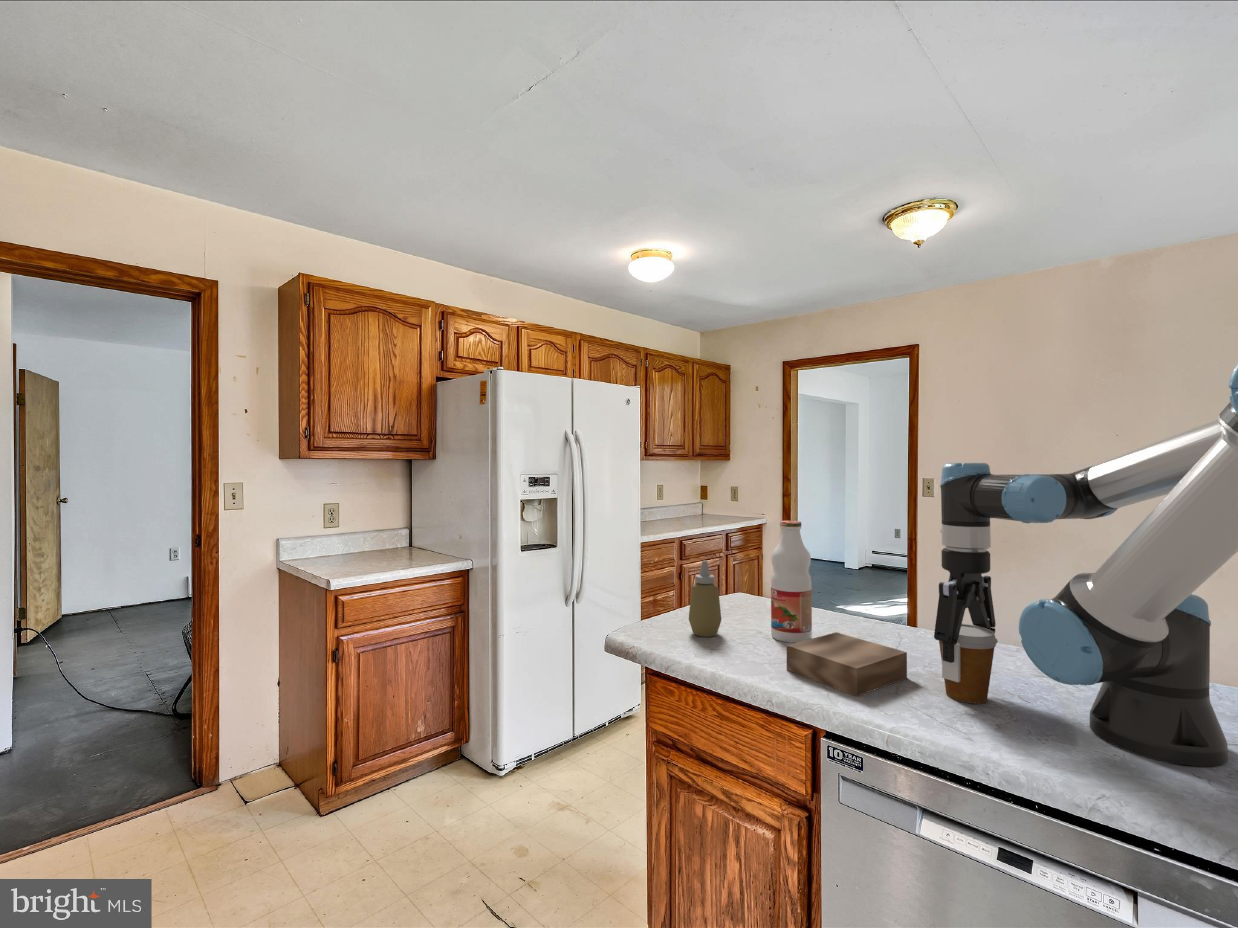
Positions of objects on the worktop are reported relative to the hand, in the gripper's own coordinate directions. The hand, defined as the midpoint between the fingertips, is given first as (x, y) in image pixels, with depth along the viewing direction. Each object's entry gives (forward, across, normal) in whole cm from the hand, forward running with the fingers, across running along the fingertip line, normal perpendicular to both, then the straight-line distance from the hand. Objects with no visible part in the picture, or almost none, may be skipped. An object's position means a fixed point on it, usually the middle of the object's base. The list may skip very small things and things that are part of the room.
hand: (966, 673), depth 103 cm
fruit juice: (+4, -2, -41) cm, 41 cm away
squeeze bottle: (+4, +13, -55) cm, 57 cm away
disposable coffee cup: (+4, 0, 0) cm, 4 cm away
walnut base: (+4, +8, -19) cm, 21 cm away
